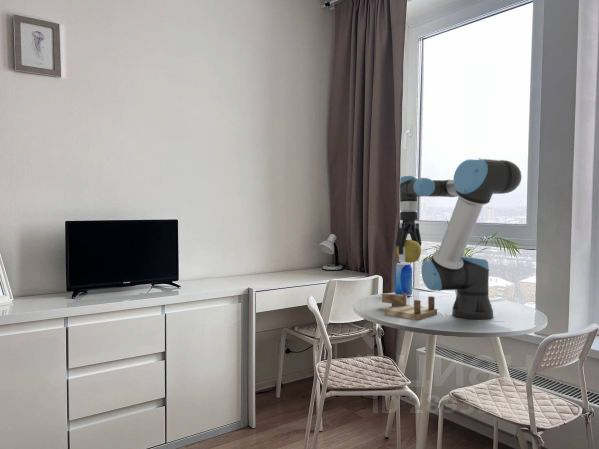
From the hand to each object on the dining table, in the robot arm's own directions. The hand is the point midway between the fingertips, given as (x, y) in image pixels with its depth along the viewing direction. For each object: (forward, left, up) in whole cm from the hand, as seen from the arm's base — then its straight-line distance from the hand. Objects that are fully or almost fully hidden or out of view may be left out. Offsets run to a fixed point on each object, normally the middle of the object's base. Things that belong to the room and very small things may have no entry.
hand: (409, 261), depth 204 cm
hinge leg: (0, +12, -17) cm, 21 cm away
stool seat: (-10, +17, -20) cm, 28 cm away
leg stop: (+2, +7, -20) cm, 21 cm away
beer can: (+15, -21, -20) cm, 32 cm away
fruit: (0, 0, -1) cm, 1 cm away
